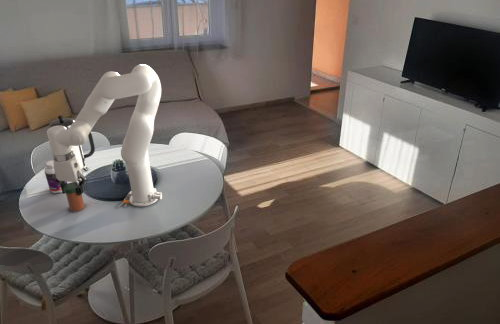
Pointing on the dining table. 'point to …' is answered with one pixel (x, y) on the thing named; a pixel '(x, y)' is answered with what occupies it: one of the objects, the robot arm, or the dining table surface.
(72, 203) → the jar
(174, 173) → the dining table surface
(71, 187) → the lid
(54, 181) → the pill bottle
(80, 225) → the dining table surface
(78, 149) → the coffee press
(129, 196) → the key chain
